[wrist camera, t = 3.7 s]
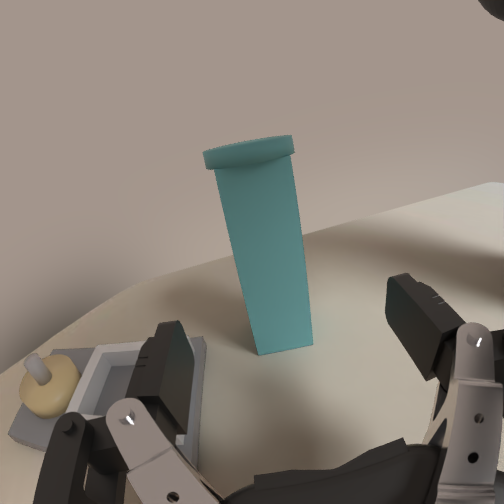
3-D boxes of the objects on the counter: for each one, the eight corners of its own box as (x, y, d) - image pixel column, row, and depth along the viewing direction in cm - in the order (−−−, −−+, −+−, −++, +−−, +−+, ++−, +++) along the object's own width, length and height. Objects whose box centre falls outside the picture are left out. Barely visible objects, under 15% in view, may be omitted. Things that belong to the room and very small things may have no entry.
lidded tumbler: (307, 307, 24) (283, 134, 18) (323, 348, 19) (300, 135, 13) (247, 318, 24) (207, 149, 18) (250, 362, 19) (197, 155, 13)
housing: (206, 345, 21) (189, 299, 20) (197, 473, 11) (162, 438, 10) (58, 357, 22) (35, 321, 20) (15, 441, 12) (-21, 404, 10)
